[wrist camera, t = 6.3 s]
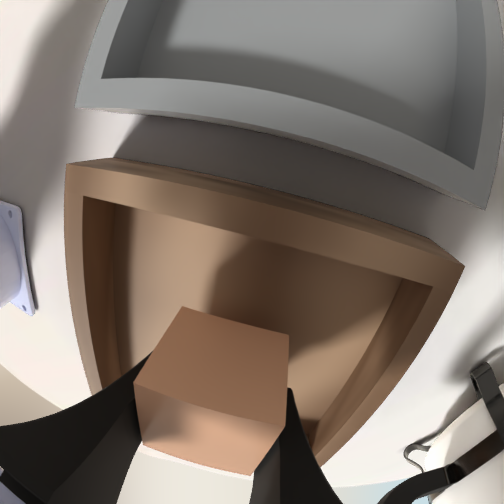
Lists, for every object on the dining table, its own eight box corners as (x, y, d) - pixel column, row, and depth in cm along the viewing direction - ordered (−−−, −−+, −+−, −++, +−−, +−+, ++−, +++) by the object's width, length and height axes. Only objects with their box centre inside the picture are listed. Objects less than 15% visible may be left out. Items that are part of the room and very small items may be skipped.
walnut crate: (116, 377, 15) (96, 407, 13) (112, 157, 10) (66, 163, 8) (317, 433, 15) (317, 469, 12) (428, 238, 10) (465, 266, 7)
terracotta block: (175, 376, 11) (143, 445, 7) (182, 306, 10) (133, 382, 6) (262, 399, 11) (250, 475, 7) (289, 334, 10) (284, 425, 6)
